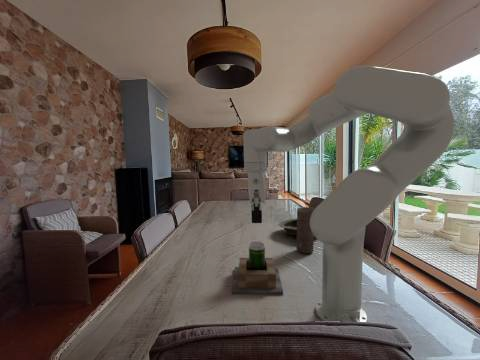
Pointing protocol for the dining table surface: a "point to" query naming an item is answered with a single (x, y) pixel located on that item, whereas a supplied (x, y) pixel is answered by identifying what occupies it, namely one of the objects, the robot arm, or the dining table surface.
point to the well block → (256, 279)
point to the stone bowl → (290, 226)
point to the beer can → (256, 256)
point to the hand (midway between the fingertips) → (256, 218)
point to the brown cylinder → (304, 230)
